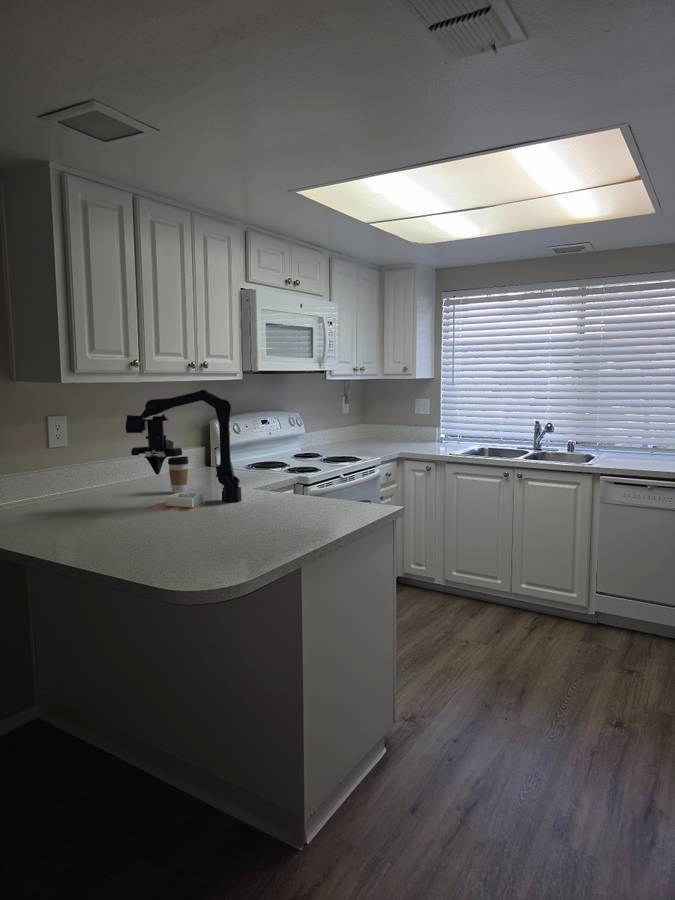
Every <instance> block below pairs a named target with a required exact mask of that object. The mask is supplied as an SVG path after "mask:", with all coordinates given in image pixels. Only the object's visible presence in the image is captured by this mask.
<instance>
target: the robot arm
mask: <svg viewBox="0 0 675 900" xmlns="http://www.w3.org/2000/svg"><path fill="white" fill-rule="evenodd" d="M202 401H203V402H205V403H206V404H207V405H209V406H210V407H212V408H214V409H215V414H216V418H217V423H218V427H219V428H218V429H219V432H218V433H219V456H220V457H219V458H220V459H219V461H220V462H219V464H217V463H216V466H215V470H216V474H215V475H216V476H215V478H217V481H218V483H219V484H220V485H222V491H221V502H224V503H228V504H229V503H230V504H232V503H233V504H235V503H240V502H242V487H241V486H239V484H240V482H241V480H240V479H239V478H238V477H237V476H236V475H235V471H234V467H233V463H232V460H231V459H232V458H231V438H230V437H231V435H230V434H231V433H230V429H231V428H230V423H231V417H232V410H233V404H232V402H231V401H230V400H229V399H227V398H220V397H219V396H217V395H215V394H213V393H211V392H210V391H208V390H207V389H200V390H199V391H195V392H190V393H187V394H186V393H185V394H183V395H182V394H181V395H177V396H174V397H167V398H166V397H163V398H152V399H150V400H148V401H147V402H146V403H145V406H144V410H143V412H142V413H141V414H139V415H136V414H135V415H133V414H127V415H126V421H125V432H126V434H144V431H147V435H146V436H145V439H146V440H147V445H148V446H143V445H142V446H141V445H140V446H135V447H131V451H130V452H131V453H130V455H131V456H139V455H140V454H145V456H144V459H146V460H147V461H148V463H149V464H150V466H151V468H152V470H153V472H154V473H155V475H160V473H161V470H162V467H163V465H164V464H163V463H164V462H165V460H166V459H167V458H173V457H181V456H182V455H183V450H182V448H181V447H174V441H172V440H170V439H167V435H166V434H165V430H164V422H166V421H169V417H167V416H166V414H164V412H167V411H168V410H170V409H174V408H176V407H180V406H184V405H188V404H192V403H197V402H202ZM162 413H163V414H162ZM159 414H162V415H161V416H160V415H159ZM150 417H152V418H150Z"/></svg>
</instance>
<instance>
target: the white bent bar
mask: <svg viewBox="0 0 675 900" xmlns="http://www.w3.org/2000/svg"><path fill="white" fill-rule="evenodd" d="M187 494H190V493H188V492H186V493H176V494H173V493H172V494H171V495H168V496H166V497H165V501H166V506H180V507H194V498H184V495H187ZM199 494H200V498H201V503H205V494H204V493H199Z"/></svg>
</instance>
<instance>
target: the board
mask: <svg viewBox="0 0 675 900" xmlns="http://www.w3.org/2000/svg"><path fill="white" fill-rule="evenodd" d="M207 504H208V503H206V502H204V503H201V505H198V506H196V507H180V506H166V500H164V501H162V502H159V503H155V504H153V505H150V506H147V507H145V508H143V509H145V510H146V509H147V510H160V511H173V512H174V511H175V512H185V513H186V512H187V513H188V512H189V511H192V510H195V509H197V508H200V507H202V506H204V505H207Z"/></svg>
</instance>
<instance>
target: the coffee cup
mask: <svg viewBox="0 0 675 900" xmlns="http://www.w3.org/2000/svg"><path fill="white" fill-rule="evenodd" d="M167 459H168V460H167V465H168V471H169V473H168V474H169V479H170V480H169V481H170V486H171V487H170V488H171V494H172V495H173V494H176V493H188V492H187V491H188V490H187V489H188V473H189V471H188V469H189V468H188V464H189V458H188V456H175V457H167Z"/></svg>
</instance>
